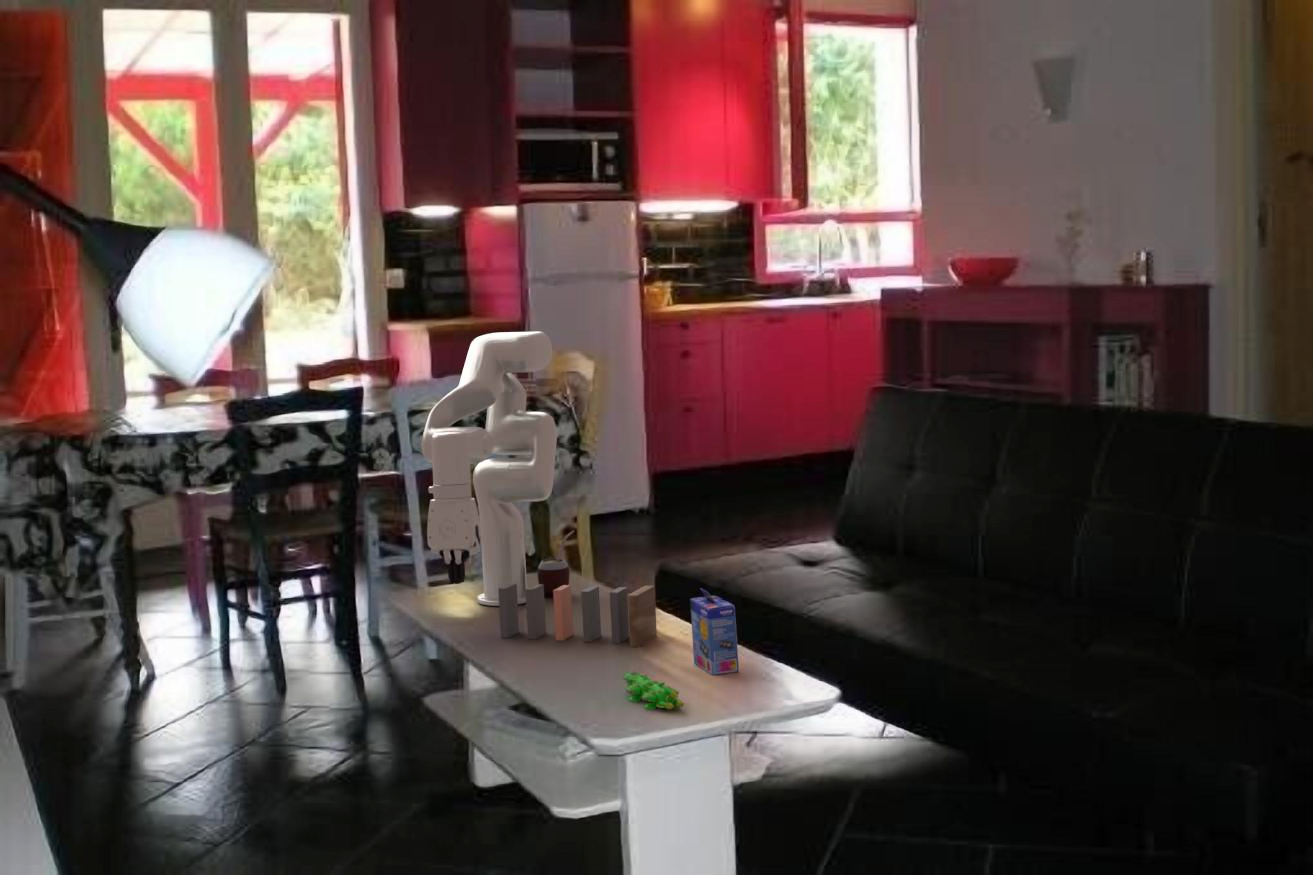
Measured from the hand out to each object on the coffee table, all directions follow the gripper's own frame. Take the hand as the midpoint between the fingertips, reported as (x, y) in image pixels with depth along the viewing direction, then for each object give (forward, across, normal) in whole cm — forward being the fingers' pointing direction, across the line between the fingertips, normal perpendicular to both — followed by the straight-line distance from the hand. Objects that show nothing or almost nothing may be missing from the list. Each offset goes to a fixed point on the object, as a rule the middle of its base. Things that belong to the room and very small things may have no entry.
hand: (457, 582), depth 318 cm
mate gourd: (+10, +5, +37) cm, 39 cm away
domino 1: (+10, +11, +1) cm, 15 cm away
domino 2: (+10, +17, +1) cm, 20 cm away
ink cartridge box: (+11, +60, -15) cm, 63 cm away
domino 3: (+11, +23, +1) cm, 25 cm away
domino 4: (+11, +29, +1) cm, 31 cm away
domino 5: (+11, +35, +1) cm, 36 cm away
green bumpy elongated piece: (+12, +57, -38) cm, 69 cm away
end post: (+11, +40, +1) cm, 41 cm away
